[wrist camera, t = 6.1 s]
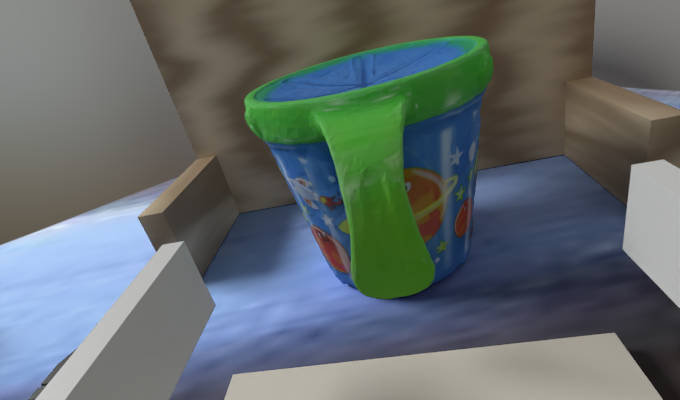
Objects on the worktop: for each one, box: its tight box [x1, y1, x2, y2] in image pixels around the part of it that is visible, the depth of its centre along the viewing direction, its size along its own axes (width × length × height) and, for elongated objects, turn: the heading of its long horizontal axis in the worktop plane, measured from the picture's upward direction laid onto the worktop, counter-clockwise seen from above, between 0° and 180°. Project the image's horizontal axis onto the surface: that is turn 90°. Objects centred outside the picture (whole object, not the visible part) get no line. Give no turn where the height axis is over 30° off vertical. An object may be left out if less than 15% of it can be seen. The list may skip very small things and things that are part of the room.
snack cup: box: [244, 36, 493, 299], centre depth 19 cm, size 16×10×10 cm
